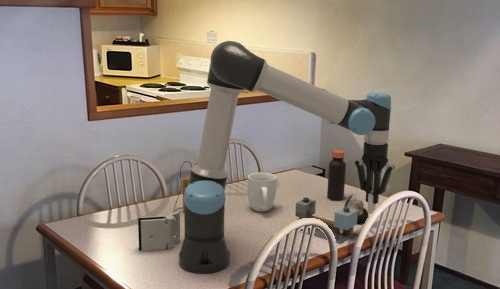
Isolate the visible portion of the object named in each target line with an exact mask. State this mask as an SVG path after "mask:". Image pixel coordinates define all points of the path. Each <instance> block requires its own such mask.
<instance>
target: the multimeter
mask: <svg viewBox="0 0 500 289" xmlns="http://www.w3.org/2000/svg"><path fill="white" fill-rule="evenodd" d="M185 163H189V164H190V166H191V168H192V167H193V165H192V163H191V162H190V161H189V160H186V161H184V162H183V163H182V164H181V165H180V170H179V177H180V179H182V172H181V171H182V167H183V166H184V164H185ZM196 164H197V162H196V163H195V164H194V166H195V165H196ZM191 168H190V169H191ZM189 178H190V177H184V178H183V179H182V180H180V185H181V187H180V190H179V193H178V196H177V199H176V201H175V203H174V204H175V205H174V207H173V212H176V211H178V210H179V209H182V212H183V213H184V194H185V189H186V187H187V185H188V183H189ZM181 191H182V207H181V206H180V207H177V208H176V205H177V203H178V200H179V198H180V195H181Z"/></svg>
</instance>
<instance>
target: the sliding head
mask: <svg viewBox="0 0 500 289" xmlns="http://www.w3.org/2000/svg"><path fill="white" fill-rule="evenodd" d="M357 214H358V210H354V209H350V208H349V207H342V208H340V209H338V210H337V211H335V212H334V219H333V220H334V227H338V228H340V233H341V234H343V229H345V230H348V229H350V228H352V227H353V228H354V227H355V226H356V225H358V224H357Z"/></svg>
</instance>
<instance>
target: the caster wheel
mask: <svg viewBox="0 0 500 289" xmlns="http://www.w3.org/2000/svg"><path fill="white" fill-rule="evenodd" d="M353 196H354V195H353V193H352V194H350V196H349V197H347V199H346V200H345V201H344V207H349V208H350V209H354V210H358V214H357V224H356V225H362V224H365V223H366V222H365V221H366V219H367V218H368V219H369V213H367V210H368V209H366V208H365V207H364V206H365V205H364V202H363V200H361V199H358V198H355V197H353ZM344 207H343V208H344ZM364 222H365V223H364Z"/></svg>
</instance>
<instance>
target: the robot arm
mask: <svg viewBox="0 0 500 289" xmlns="http://www.w3.org/2000/svg"><path fill="white" fill-rule="evenodd" d="M206 84H207V85H208V87H209V89H210V92H209V97H208V102H207V103H208V104H207V107H206V114H205V119H204V125H203V129H202V136H201V141H200V146H199V152H198V157H197V162H196V163H197V164H196V163H195V164H196V165H195V164H194V165H192V168H190V173H189V177H188V178H189V183H188V185H187V187H186V189H185V194H184V212H183V213H184V239H183V242H182V245H181V248H180V251H179V254H178V264H179V266H180V268H182V269H184V270H186V271H187V272H191V273H196V274H209V273H216V272H219V271H222V270H224V269H226V268H227V267H228V266H229V265H230V261H231V252H230V251H229V249H228V245H227V242H226V238H225V209H226V208H225V203H226V193H225V190H226V184H227V179H228V172H227V171H226V170H225V165H226V160H227V156H228V155H227V154H228V150H229V146H230V145H229V144H230V139H231V135H232V131H233V130H232V129H233V124H234V121H235V114H236V109H237V106H238V105H237V104H238V100H239V96H240V95H241V93H243V92H244V91H245V90H246V91H247V92H248V91H249V92H250V93H253V92H255V91H258V92H259V93H260V92H261V93H263V94H265V95H267V96H269V97H273V98H275V99H277V100H279V101H281V102H283V103H286V104H289V105H290V106H293V107H296V108H298V109H300V110H303V111H305V112H307V113H309V114H311V115H314V116H316V117H319V118H322V120H326V121H328V123H329V124H331V125H338V127H341V128H345V130H348V131H350V132H351V133H353V134H356V135H358V136H363V140H364V142H363V147H362V148H363V150H362V151H363V154H362V156H361V158H360V159H359V158H358V159H357V160H355V161H354V165H355V166H356V168H357V174H358V181H359V186H360V190H361V191H364V192H365V202H366V203H367V209H366V210H367V213H368V214H369V215H370V214H373V213H372V212H373V211H374V210H375V211H376V204H378V203H379V197H380V195H382V194H383V193H385V192H386V190H387V186H388V184H389V180H390V178H391V176H392V175H391V174H392V172H393V171H394V170H395V168H396V167H395V165H392V164H391V163H389V159H388V150H389V144H388V142H389V138H390V136H389V135H390V122H391V121H390V120H391V112H392V98H391V95H390V94H388V93H384V92H369V93H367V95H366V97H365V99H345V98H343V97H342V96H338V95H336V94H335V93H332V92H330V91H328V90H326V89H324V88H321V87H319V86H316V85H314V84H312V83H309V82H307V81H305V80H302V79H300V78H298V77H296V76H293V75H292V74H289V73H287V72H285V71H282V70H280V69H278V68H276V67H273V66H271V65H269V64H268V62H267V60H266V59H264V58H262V57H260V56H258V55H256V54H255V53H253V52H251V51H250V50H249V49H248V48H246V46H245V45H243V44H242V43H240V42H238V41H233V40H232V41H231V40H226V41H223V42H221V43H219V44H217V45H216V46H215V48H214V49H213V50H212V52H211V55H210V64H209V69H208V75H207V80H206ZM365 167H366V170H365ZM383 169H385V171H384V173H383V172H382V171H383ZM382 173H383V177H382ZM381 177H382V179H381Z"/></svg>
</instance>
